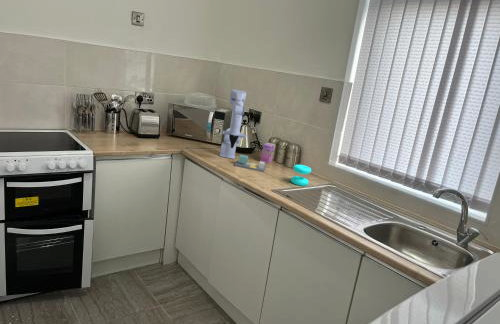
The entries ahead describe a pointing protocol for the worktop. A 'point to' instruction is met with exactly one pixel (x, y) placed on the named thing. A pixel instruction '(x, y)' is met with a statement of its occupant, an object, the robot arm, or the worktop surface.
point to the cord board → (252, 166)
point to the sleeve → (243, 159)
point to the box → (267, 152)
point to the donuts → (298, 179)
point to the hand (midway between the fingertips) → (232, 147)
